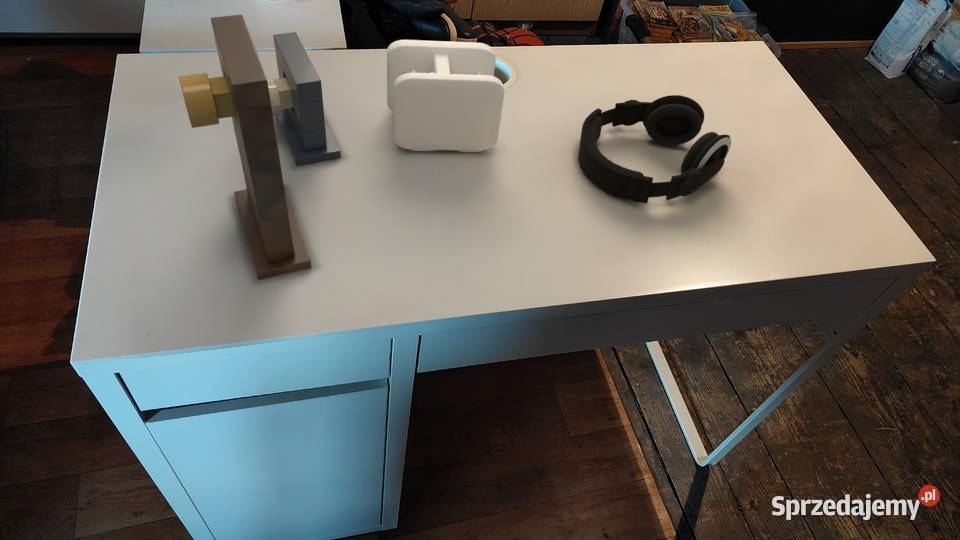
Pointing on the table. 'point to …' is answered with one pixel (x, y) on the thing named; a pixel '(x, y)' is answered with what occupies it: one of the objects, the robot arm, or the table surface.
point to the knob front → (206, 99)
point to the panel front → (258, 156)
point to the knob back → (280, 94)
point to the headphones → (664, 124)
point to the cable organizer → (443, 95)
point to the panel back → (303, 105)
